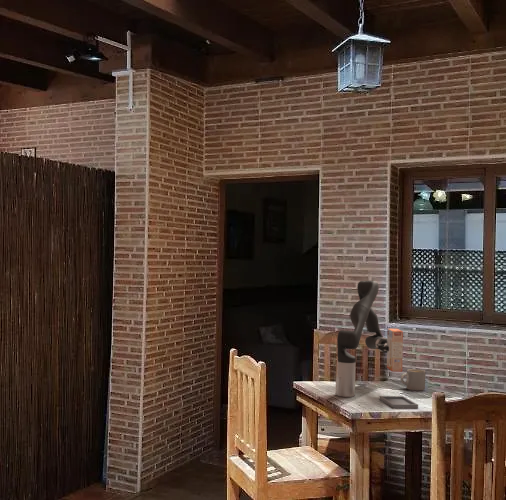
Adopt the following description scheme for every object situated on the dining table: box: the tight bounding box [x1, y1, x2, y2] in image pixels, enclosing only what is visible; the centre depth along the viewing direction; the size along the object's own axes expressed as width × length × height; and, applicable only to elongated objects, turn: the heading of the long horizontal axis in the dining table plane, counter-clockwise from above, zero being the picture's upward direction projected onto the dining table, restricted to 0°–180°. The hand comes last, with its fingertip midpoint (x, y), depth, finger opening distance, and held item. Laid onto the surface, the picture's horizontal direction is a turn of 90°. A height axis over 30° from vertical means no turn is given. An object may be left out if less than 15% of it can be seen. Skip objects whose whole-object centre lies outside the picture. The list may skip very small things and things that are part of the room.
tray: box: [379, 395, 419, 409], centre depth 327 cm, size 13×20×2 cm, turn 8°
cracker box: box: [386, 328, 404, 373], centre depth 347 cm, size 14×6×21 cm, turn 178°
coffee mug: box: [400, 368, 427, 391], centre depth 370 cm, size 13×10×10 cm
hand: (394, 349), depth 348 cm, fingers closed on cracker box, 6 cm apart
